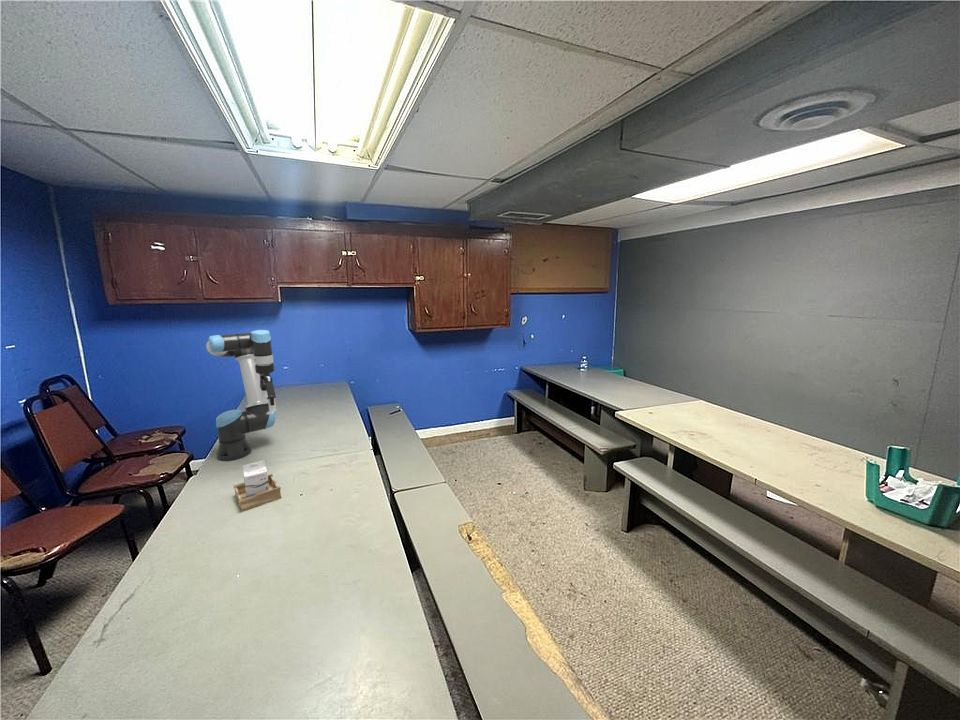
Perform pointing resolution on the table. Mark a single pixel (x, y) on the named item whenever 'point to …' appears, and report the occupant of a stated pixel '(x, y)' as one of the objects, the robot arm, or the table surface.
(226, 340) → the robot arm
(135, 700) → the table surface
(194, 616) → the table surface
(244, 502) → the crate
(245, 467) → the ink box
